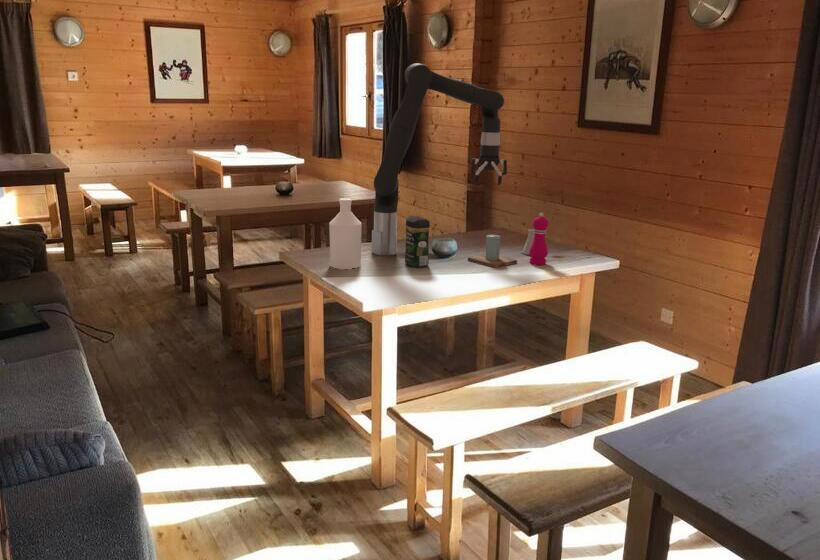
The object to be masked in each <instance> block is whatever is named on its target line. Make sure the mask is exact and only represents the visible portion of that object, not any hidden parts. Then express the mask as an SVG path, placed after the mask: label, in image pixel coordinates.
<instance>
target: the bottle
mask: <svg viewBox="0 0 820 560" xmlns="http://www.w3.org/2000/svg"><path fill="white" fill-rule="evenodd" d="M338 200H339V201H338V202H339V210H340V211H339V212H338V213H337V214H336V216H335V217H334V218H333V219H331V221H329V223H328V224H329V225H328V227H329V229H328V230H329V263H330V264H329V265H330V267H331V266H332V267H335V268H339V269H338V270H344V269H348V270H353V269H352V268H356V269H358V268H357V267H359V268H361V265H362V263H361V262H362V227H363V226H362V223H363V222H361V221H360V220H359V219H358V218H357V216H355V215H354V213H353V211H352V207H351V206H352V202H353V201H352V200H353V199H352V198H346V197H345V198H344V197H343V198H342V197H340V198H339V199H338ZM332 267H331V268H332ZM335 268H334V269H335Z"/></svg>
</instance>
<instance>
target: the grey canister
mask: <svg viewBox="0 0 820 560" xmlns="http://www.w3.org/2000/svg"><path fill="white" fill-rule="evenodd" d="M485 238H486V240H485V241H486V242H485V254H486V256H485V258H486V259H487V260H499V256H500V248H501V247H500V246H501V235H498V234H488V235H486V237H485Z"/></svg>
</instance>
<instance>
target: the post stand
mask: <svg viewBox="0 0 820 560" xmlns="http://www.w3.org/2000/svg"><path fill="white" fill-rule="evenodd" d="M485 256H486V253H485V254H480V255H475V256H470V257H467V261H468V260H469V262H472V263H475V262H476V264H479V263H480V264H479V265H483V266H486V265H487V267H490V266H491V267H490V268H493V267H495V268H499V266H500V267H503V266H504V265H505V266H508V265H509V264H510V265H514V263H515V264H517V263H518V259H514V258H510V257H506V256H503V255H499V260H487V259H486V258H485Z"/></svg>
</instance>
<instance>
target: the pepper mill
mask: <svg viewBox="0 0 820 560" xmlns="http://www.w3.org/2000/svg"><path fill="white" fill-rule="evenodd" d="M532 225H533V228H534V229H533V230H534V240H533V243H532V245H531V247H530V250H529V254H530V255H529V256H530V258H529V263H531V264H530V265H533V264H535V266H544V264H545V265H546V263H547V259H546V258H547V256H548V255H549V250H548V247H547V243H546V234H547V233H548V232H547V231H548V230H547V228H549V225H550V224H549V219H547V217H545V216H544V212H540V213H539V214H538V216H537V217H535V218H534V219H533V221H532Z"/></svg>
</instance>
